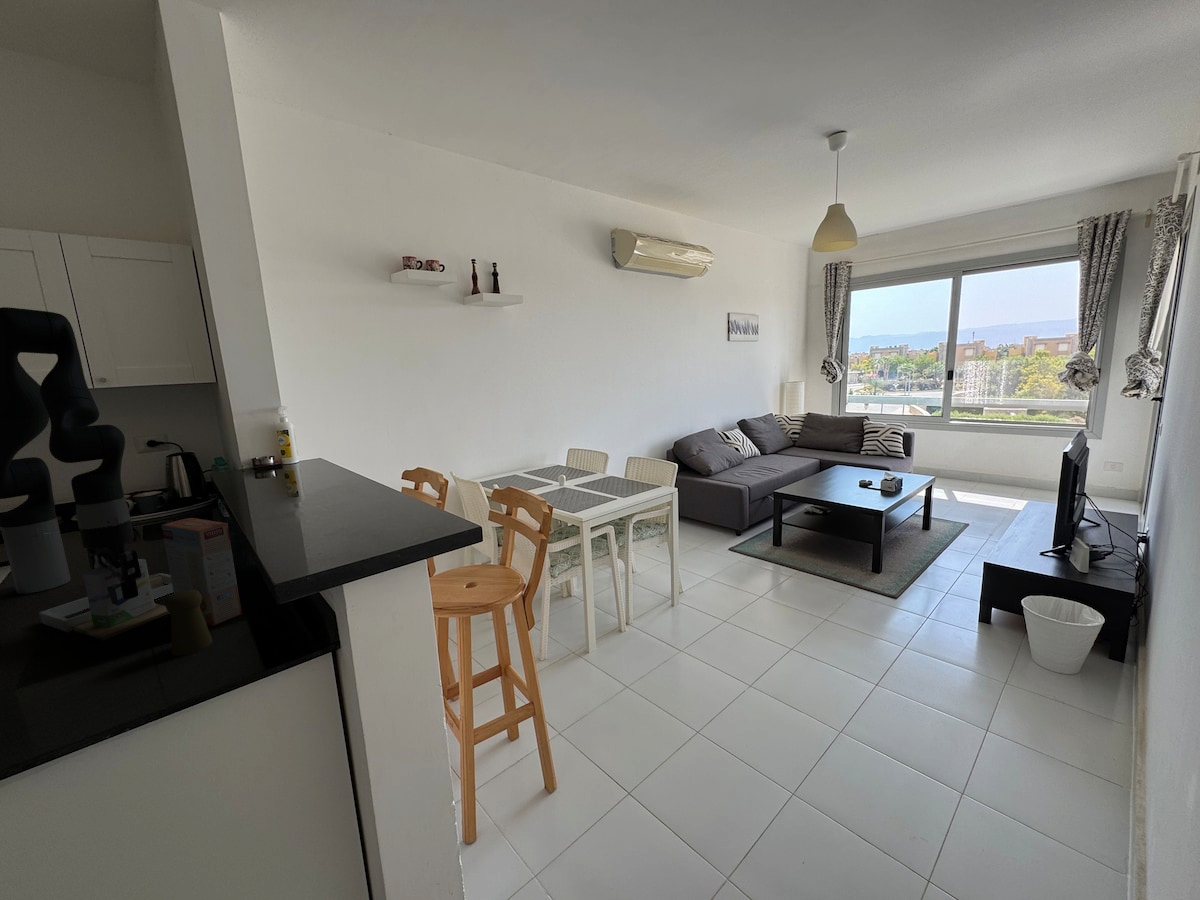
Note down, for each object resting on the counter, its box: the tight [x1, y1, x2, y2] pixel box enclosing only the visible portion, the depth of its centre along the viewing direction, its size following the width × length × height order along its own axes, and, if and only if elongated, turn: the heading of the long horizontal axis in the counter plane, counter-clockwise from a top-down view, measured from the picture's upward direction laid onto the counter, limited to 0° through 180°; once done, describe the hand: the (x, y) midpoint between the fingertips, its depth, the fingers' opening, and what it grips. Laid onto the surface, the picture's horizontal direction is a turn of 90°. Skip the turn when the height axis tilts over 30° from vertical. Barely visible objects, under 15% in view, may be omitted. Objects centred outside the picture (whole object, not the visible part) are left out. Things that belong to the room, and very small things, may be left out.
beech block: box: [149, 574, 164, 590], centre depth 116 cm, size 4×4×4 cm
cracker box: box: [160, 517, 243, 627], centre depth 103 cm, size 14×6×21 cm, turn 65°
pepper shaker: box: [164, 590, 213, 657], centre depth 91 cm, size 6×6×11 cm
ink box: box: [82, 558, 155, 628], centre depth 102 cm, size 9×5×12 cm, turn 166°
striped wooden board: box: [73, 602, 170, 639], centre depth 103 cm, size 12×12×1 cm
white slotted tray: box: [38, 572, 173, 633], centre depth 111 cm, size 12×22×2 cm, turn 157°
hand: (120, 595), depth 102 cm, fingers open, 8 cm apart
